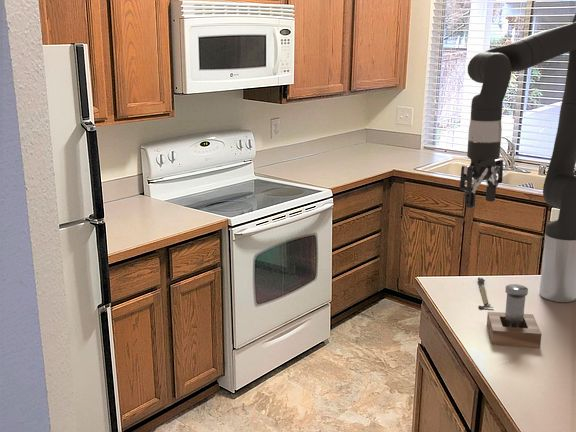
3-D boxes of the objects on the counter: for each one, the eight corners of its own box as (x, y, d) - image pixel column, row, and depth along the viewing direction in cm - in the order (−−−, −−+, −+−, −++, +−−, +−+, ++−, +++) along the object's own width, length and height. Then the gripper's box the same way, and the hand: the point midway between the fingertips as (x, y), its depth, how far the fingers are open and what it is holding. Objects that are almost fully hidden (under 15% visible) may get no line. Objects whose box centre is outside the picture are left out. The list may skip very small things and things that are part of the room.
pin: (509, 329, 147) (513, 282, 144) (527, 336, 144) (532, 288, 140) (497, 335, 144) (501, 287, 141) (516, 342, 141) (520, 294, 138)
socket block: (486, 324, 150) (487, 311, 149) (531, 327, 148) (533, 314, 147) (491, 344, 140) (493, 330, 139) (540, 347, 138) (541, 333, 137)
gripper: (488, 134, 154) (483, 196, 158) (453, 140, 145) (449, 206, 150) (515, 137, 148) (509, 201, 153) (480, 143, 140) (476, 212, 144)
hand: (480, 204), depth 151 cm, fingers open, 8 cm apart
